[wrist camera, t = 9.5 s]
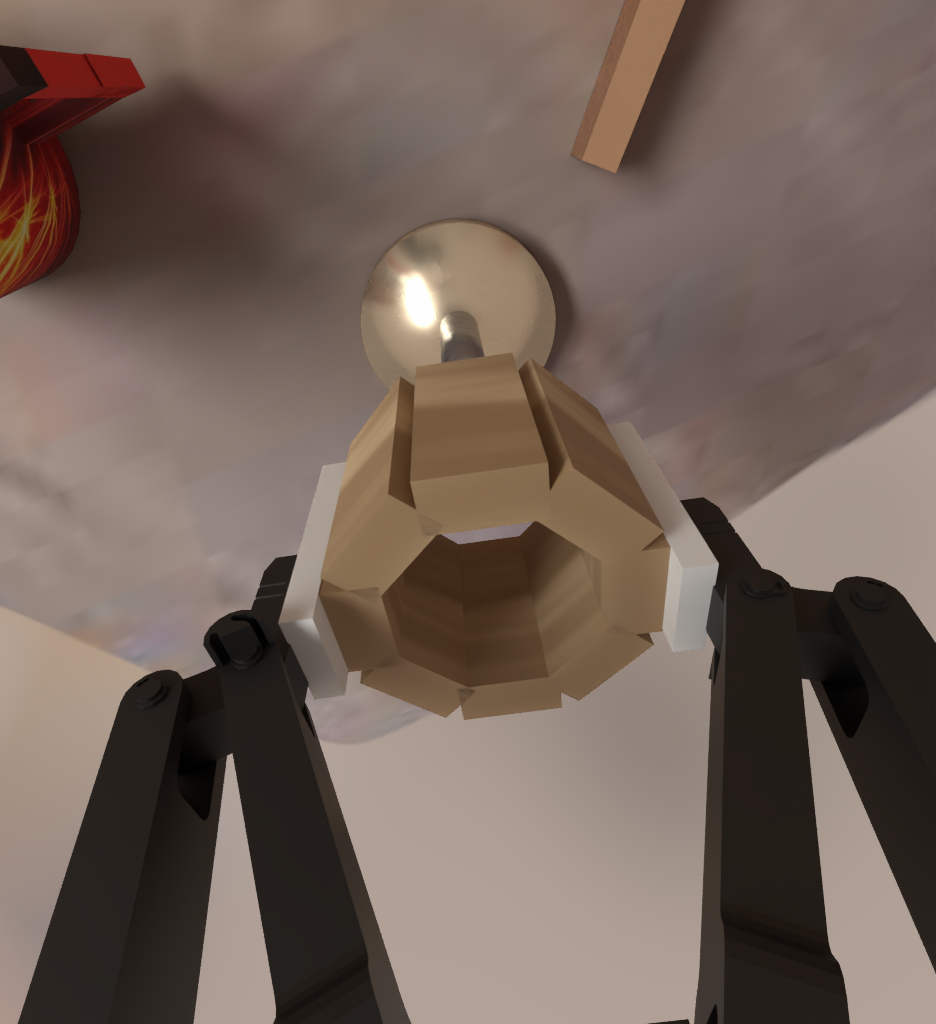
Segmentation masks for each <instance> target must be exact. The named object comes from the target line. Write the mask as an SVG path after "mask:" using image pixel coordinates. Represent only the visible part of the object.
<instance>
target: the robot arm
mask: <svg viewBox="0 0 936 1024" xmlns="http://www.w3.org/2000/svg"><path fill="white" fill-rule="evenodd" d="M607 427H608V429H609V431H610V433H611V434H612V436H613V438H614V440H615V442H616V444H617V445H618V447H619V449H620V451H621V453H622V455H623V456H624V458H625V460H626V462H627V464H628V465H629V467H630V469H631V471H632V473H633V475H634V476H635V478H636V480H637V482H638V484H639V486H640V487H641V489H642V491H643V493H644V495H645V497H646V498H647V500H648V502H649V504H650V506H651V508H652V509H653V511H654V513H655V515H656V517H657V519H658V520H659V522H660V524H661V526H662V528H663V530H664V532H663V534H664V536H665V537H666V539H667V541H668V543H669V545H670V547H671V549H670V559H669V569H668V579H667V589H666V598H665V608H664V618H663V628H662V629H663V632H664V634H665V636H666V638H667V641H668V643H669V645H670V647H671V650H672V652H679V651H686V650H694V649H702V648H704V647H705V641H706V635H707V633H708V635H709V637H710V638H711V640H712V642H713V644H714V646H715V648H714V653H713V658H712V664H711V669H710V674H709V679H712V681H711V705H710V729H709V730H710V731H709V753H708V754H709V755H708V778H707V802H706V827H705V851H704V874H703V899H702V924H701V947H700V969H699V982H698V990H697V997H696V1007H695V1008H696V1009H695V1020H694V1024H850V1021H849V1012H848V1003H847V996H846V990H845V984H844V978H843V975H842V971H841V968H840V965H839V963H838V961H837V960H836V959H835V958H834V956H833V955H832V953H831V950H830V947H829V942H828V935H827V925H826V915H825V905H824V895H823V885H822V876H821V867H820V856H819V847H818V836H817V827H816V816H815V807H814V796H813V787H812V777H811V768H810V757H809V747H808V737H807V727H806V717H805V708H804V698H803V688H802V679H809V680H810V682H811V685H812V687H813V689H814V691H815V694H816V696H817V698H818V701H819V703H820V705H821V708H822V710H823V712H824V715H825V717H826V719H827V722H828V724H829V726H830V728H831V731H832V733H833V735H834V737H835V740H836V743H837V745H838V747H839V750H840V752H841V754H842V757H843V759H844V761H845V763H846V766H847V768H848V770H849V773H850V775H851V777H852V780H853V782H854V784H855V787H856V789H857V791H858V794H859V796H860V798H861V801H862V803H863V805H864V808H865V810H866V812H867V814H868V817H869V819H870V822H871V824H872V826H873V828H874V831H875V833H876V836H877V838H878V840H879V842H880V845H881V847H882V849H883V852H884V854H885V856H886V859H887V861H888V863H889V865H890V868H891V870H892V873H893V875H894V877H895V879H896V882H897V884H898V887H899V889H900V891H901V894H902V896H903V898H904V901H905V903H906V905H907V908H908V910H909V912H910V915H911V917H912V919H913V921H914V924H915V926H916V928H917V931H918V933H919V935H920V938H921V940H922V942H923V945H924V947H925V949H926V952H927V954H928V956H929V959H930V961H931V963H932V966H933V968H934V970H935V973H936V643H935V641H934V640H933V638H932V637H931V635H930V634H929V632H928V631H927V630H926V628H925V626H924V625H923V624H922V622H921V621H920V619H919V618H918V616H917V615H916V613H915V612H914V610H913V609H912V607H911V606H910V604H909V603H908V602H907V600H906V599H905V597H904V596H903V595H902V594H901V593H900V592H899V591H898V590H897V589H895V588H894V587H892V586H890V585H888V584H887V583H885V582H882V581H879V580H876V579H873V578H869V577H859V576H856V577H849V578H844V579H842V580H841V581H839V582H837V583H836V585H835V588H834V590H833V592H827V591H816V590H807V589H800V588H794V587H791V586H790V584H789V583H788V582H787V581H786V580H785V579H784V578H783V577H782V576H780V575H778V574H776V573H774V572H772V571H770V570H766V569H762V568H761V566H760V565H759V563H758V562H757V561H756V559H755V558H754V556H753V555H752V554H751V552H750V551H749V549H748V548H747V547H746V545H745V544H744V542H743V541H742V539H741V538H740V537H739V535H738V534H737V533H735V530H734V528H733V527H732V525H731V524H730V523H728V520H727V518H726V517H725V515H724V514H723V512H722V511H721V510H720V508H719V507H717V506H716V505H714V504H713V503H711V502H710V501H708V500H707V499H705V498H704V497H702V498H695V499H688V500H679V499H678V497H677V496H676V494H675V492H674V491H673V489H672V488H671V486H670V484H669V483H668V481H667V479H666V478H665V476H664V475H663V473H662V471H661V470H660V468H659V467H658V465H657V463H656V462H655V460H654V459H653V457H652V455H651V454H650V452H649V451H648V449H647V447H646V446H645V444H644V443H643V441H642V439H641V438H640V436H639V435H638V433H637V431H636V430H635V428H634V426H633V425H632V423H631V422H623V423H616V424H609V425H607ZM345 466H346V462H344V463H337V464H330V465H323V467H322V471H321V474H320V478H319V481H318V485H317V488H316V492H315V495H314V499H313V502H312V506H311V509H310V513H309V517H308V520H307V524H306V527H305V531H304V534H303V538H302V541H301V545H300V548H299V552H298V555H293V556H286V557H279V558H275V560H274V561H273V562H272V563H271V564H270V565H269V567H268V568H267V569H266V570H265V571H264V574H263V577H262V580H261V583H260V588H258V591H257V594H256V600H254V603H253V606H252V609H251V610H240V611H236V612H233V613H229V614H228V615H226V616H224V617H222V618H220V619H219V620H218V621H216V622H215V623H214V624H213V625H212V626H211V627H210V628H209V630H208V631H207V633H206V635H205V636H204V643H203V645H204V647H205V648H206V650H207V652H208V653H209V655H210V657H211V658H212V660H213V661H214V663H215V665H216V666H215V667H213V668H211V669H209V670H207V671H204V672H201V673H199V674H196V675H194V676H191V677H189V678H186V679H182V677H181V676H180V675H179V674H178V672H175V671H172V670H161V671H156V672H154V673H151V674H149V675H146V676H144V677H143V678H142V679H140V680H139V681H137V682H136V683H134V684H133V685H132V687H131V688H130V689H129V690H128V691H127V692H126V693H125V695H124V697H123V699H122V700H121V702H120V705H119V709H118V712H117V715H116V718H115V721H114V724H113V727H112V731H111V733H110V737H109V740H108V743H107V746H106V749H105V752H104V755H103V759H102V762H101V765H100V768H99V771H98V774H97V777H96V781H95V784H94V787H93V790H92V793H91V796H90V799H89V803H88V806H87V809H86V812H85V815H84V818H83V821H82V824H81V828H80V831H79V834H78V837H77V840H76V843H75V846H74V849H73V853H72V856H71V859H70V862H69V865H68V868H67V872H66V875H65V878H64V881H63V884H62V888H61V890H60V893H59V896H58V899H57V903H56V906H55V909H54V912H53V915H52V918H51V921H50V925H49V928H48V931H47V934H46V937H45V940H44V943H43V946H42V950H41V953H40V956H39V959H38V962H37V966H36V969H35V972H34V975H33V978H32V981H31V984H30V987H29V991H28V994H27V997H26V1000H25V1003H24V1006H23V1009H22V1012H21V1015H20V1019H19V1022H18V1024H193V1022H194V1014H195V1005H196V998H197V990H198V983H199V975H200V966H201V958H202V951H203V943H204V935H205V926H206V919H207V911H208V902H209V895H210V887H211V879H212V870H213V862H214V855H215V847H216V839H217V832H218V823H219V816H220V808H221V799H222V791H223V783H224V775H225V768H226V759H227V755H229V754H231V753H233V758H234V764H235V770H236V776H237V781H238V787H239V793H240V799H241V804H242V810H243V816H244V821H245V828H246V833H247V839H248V845H249V851H250V856H251V863H252V868H253V874H254V880H255V886H256V891H257V897H258V903H259V909H260V915H261V921H262V926H263V932H264V938H265V944H266V949H267V954H268V961H269V967H270V972H271V978H272V984H273V990H274V996H275V1003H276V1019H275V1021H274V1023H273V1024H411V1022H410V1019H409V1017H408V1015H407V1012H406V1009H405V1007H404V1004H403V1001H402V998H401V995H400V992H399V989H398V985H397V983H396V979H395V976H394V973H393V970H392V967H391V964H390V961H389V957H388V954H387V951H386V948H385V945H384V942H383V939H382V936H381V933H380V930H379V926H378V924H377V920H376V917H375V914H374V911H373V908H372V905H371V902H370V898H369V895H368V892H367V889H366V886H365V883H364V880H363V876H362V873H361V870H360V867H359V864H358V861H357V858H356V855H355V852H354V849H353V845H352V842H351V839H350V836H349V833H348V830H347V827H346V824H345V821H344V818H343V814H342V811H341V808H340V805H339V802H338V799H337V796H336V792H335V789H334V786H333V783H332V780H331V777H330V774H329V771H328V768H327V764H326V761H325V758H324V755H323V752H322V749H321V746H320V743H319V739H318V736H317V733H316V730H315V727H314V724H313V721H312V718H311V715H310V711H309V709H308V707H307V705H306V703H305V698H306V693H307V688H308V687H309V689H310V691H311V693H312V695H313V697H314V699H320V698H327V697H335V696H343V695H345V690H346V683H347V676H348V668H347V666H346V663H345V661H344V658H343V656H342V653H341V651H340V648H339V646H338V643H337V640H336V638H335V635H334V633H333V630H332V628H331V625H330V623H329V620H328V618H327V615H326V613H325V610H324V608H323V605H322V603H321V600H320V598H319V595H318V594H319V590H320V585H321V581H322V579H321V578H320V575H321V571H322V566H323V562H324V558H325V553H326V549H327V544H328V540H329V536H330V531H331V527H332V523H333V518H334V514H335V509H336V505H337V501H338V496H339V492H340V488H341V483H342V479H343V474H344V470H345ZM650 1024H689V1020H688V1019H687V1020H677V1021H668V1022H659V1023H650Z"/></svg>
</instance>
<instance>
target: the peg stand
mask: <svg viewBox="0 0 936 1024" xmlns="http://www.w3.org/2000/svg"><path fill="white" fill-rule="evenodd" d="M555 325H556V314H555V304H554V300H553V295H552V291H551V288H550V286H549V283H548V281H547V278H546V277H545V275H544V273H543V271H542V269H541V268H540V266H539V264H538V263H537V261H536V260H535V259H534V257H533V256H532V255H531V253H530V252H529V251H528V250H527V249H526V248H525V247H524V246H523V245H522V244H521V243H520V242H519V241H518V240H517V239H515V238H514V237H513V236H511V235H510V234H509V233H507V232H505V231H503V230H501V229H500V228H498V227H496V226H493V225H490V224H488V223H485V222H481V221H476V220H471V219H445V220H439V221H435V222H431V223H428V224H425V225H423V226H420V227H418V228H416V229H414V230H412V231H411V232H409V233H407V234H405V235H404V236H403V237H401V238H400V239H399V240H398V241H396V242H395V243H394V244H393V245H392V246H391V247H390V248H389V249H388V250H387V251H386V252H385V254H384V255H383V256H382V258H381V259H380V260H379V262H378V263H377V265H376V267H375V269H374V271H373V272H372V274H371V277H370V279H369V282H368V285H367V287H366V291H365V294H364V298H363V303H362V309H361V335H362V340H363V346H364V349H365V352H366V355H367V358H368V360H369V362H370V364H371V366H372V368H373V370H374V372H375V373H376V375H377V376H378V378H379V379H380V381H381V382H382V383H383V384H384V385H385V387H386V388H387V389H388V390H389V391H390V389H391V388H392V387H393V385H394V384H395V383H396V381H397V380H398V378H399V377H400V376H401V377H402V378H404V379H405V380H407V381H408V382H410V383H411V384H413V385H414V386H415V371H416V367H418V366H424V365H431V364H438V363H445V362H451V361H458V360H465V359H472V358H479V357H485V356H492V355H499V354H506V353H512V354H513V357H514V360H515V363H516V366H517V369H518V370H519V369H520V368H521V367H522V366H523V365H524V363H525V362H526V361H527V360H528V359H529V357H530V358H532V359H533V360H534V361H535V362H537V363H538V364H539V365H541V366H542V367H544V365H545V364H546V361H547V359H548V357H549V354H550V351H551V348H552V344H553V341H554V335H555Z"/></svg>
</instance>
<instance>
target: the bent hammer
mask: <svg viewBox="0 0 936 1024" xmlns="http://www.w3.org/2000/svg"><path fill="white" fill-rule="evenodd" d="M684 2H685V0H626V1H625V4H624V6H623V9H622V12H621V15H620V18H619V20H618V23H617V26H616V29H615V32H614V35H613V37H612V40H611V43H610V46H609V49H608V51H607V54H606V57H605V60H604V63H603V65H602V68H601V71H600V74H599V77H598V79H597V82H596V85H595V88H594V91H593V94H592V96H591V99H590V102H589V105H588V108H587V110H586V113H585V116H584V119H583V122H582V124H581V127H580V130H579V133H578V136H577V138H576V141H575V144H574V147H573V150H572V153H571V156H573V157H575V158H578V159H580V160H582V161H585V162H588V163H590V164H593V165H596V166H598V167H601V168H603V169H606V170H609V171H611V172H614V173H616V172H617V169H618V167H619V164H620V162H621V159H622V157H623V154H624V152H625V149H626V147H627V144H628V142H629V139H630V137H631V134H632V132H633V129H634V127H635V124H636V122H637V119H638V117H639V114H640V112H641V109H642V107H643V104H644V102H645V99H646V97H647V94H648V92H649V89H650V87H651V84H652V82H653V79H654V77H655V74H656V72H657V69H658V67H659V64H660V62H661V59H662V57H663V54H664V52H665V49H666V47H667V44H668V42H669V39H670V37H671V34H672V32H673V29H674V27H675V24H676V22H677V19H678V17H679V14H680V12H681V9H682V7H683V4H684Z"/></svg>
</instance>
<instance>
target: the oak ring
mask: <svg viewBox="0 0 936 1024" xmlns="http://www.w3.org/2000/svg"><path fill="white" fill-rule="evenodd" d="M527 522H533V523H532V524H531V525H530V526H529V527H528V528H527V529H526V530H525V531H524V532H523V533H522V534H521V535H520V536H518V537H510V538H503V539H496V540H488V541H481V542H474V543H466V544H457V543H455V542H453V541H451V540H450V539H448V538H446V537H444V536H443V535H441V534H447V533H454V532H462V531H469V530H476V529H483V528H491V527H498V526H505V525H512V524H520V523H527ZM663 532H664V530H663V528H662V526H661V524H660V522H659V520H658V519H657V517H656V515H655V513H654V511H653V509H652V508H651V506H650V504H649V502H648V500H647V498H646V497H645V495H644V493H643V491H642V489H641V487H640V486H639V484H638V482H637V480H636V478H635V476H634V475H633V473H632V471H631V469H630V467H629V465H628V464H627V462H626V460H625V458H624V456H623V455H622V453H621V451H620V449H619V447H618V445H617V444H616V442H615V440H614V438H613V436H612V434H611V433H610V431H609V429H608V427H607V425H606V423H605V422H604V420H603V418H602V416H601V414H600V412H599V411H598V409H597V408H595V407H594V406H593V405H591V404H590V403H589V402H588V401H586V400H585V399H584V398H582V397H581V396H580V395H578V394H577V393H576V392H575V391H573V390H572V389H571V388H569V387H568V386H567V385H565V384H564V383H563V382H562V381H560V380H559V379H558V378H556V377H555V376H554V375H552V374H551V373H550V372H548V371H547V370H546V369H545V368H543V367H542V366H541V365H539V364H538V363H537V362H535V361H534V360H533V359H532V358H530V357H529V359H528V360H527V361H526V362H525V363H524V365H523V366H522V367H521V368H520V369H519V370H518V369H517V366H516V363H515V360H514V357H513V354H512V353H506V354H499V355H492V356H485V357H479V358H472V359H465V360H458V361H451V362H445V363H438V364H431V365H424V366H418V367H416V371H415V386H414V385H413V384H411V383H410V382H408V381H407V380H405V379H404V378H402V377H401V376H400V377H399V378H398V380H397V381H396V383H395V384H394V385H393V387H392V388H391V389H390V391H389V392H388V394H387V395H386V396H385V398H384V399H383V400H382V402H381V403H380V405H379V406H378V407H377V409H376V410H375V411H374V413H373V414H372V416H371V417H370V418H369V420H368V421H367V422H366V424H365V425H364V427H363V428H362V429H361V431H360V432H359V434H358V435H357V436H356V438H355V439H354V440H353V442H352V443H351V445H350V448H349V453H348V457H347V461H346V466H345V470H344V474H343V479H342V483H341V488H340V492H339V496H338V501H337V505H336V509H335V514H334V518H333V523H332V527H331V531H330V536H329V540H328V544H327V549H326V553H325V558H324V562H323V566H322V571H321V575H320V578H321V579H322V581H321V585H320V590H319V594H318V595H319V598H320V600H321V603H322V605H323V608H324V610H325V613H326V615H327V618H328V620H329V623H330V625H331V628H332V630H333V633H334V635H335V638H336V640H337V643H338V646H339V648H340V651H341V653H342V656H343V658H344V661H345V663H346V666H347V668H348V672H353V671H360V670H362V673H361V681H360V683H361V684H364V685H366V686H369V687H371V688H374V689H376V690H379V691H381V692H384V693H386V694H388V695H391V696H393V697H396V698H398V699H401V700H403V701H406V702H408V703H411V704H413V705H416V706H418V707H421V708H423V709H425V710H428V711H430V712H433V713H435V714H438V715H440V716H443V717H445V718H446V717H447V716H448V715H450V714H451V713H452V712H453V711H454V710H455V709H457V708H458V707H459V706H460V705H461V708H462V712H463V717H464V720H467V719H474V718H483V717H490V716H498V715H506V714H514V713H522V712H530V711H537V710H546V709H554V708H561V707H562V703H561V692H562V693H564V694H566V695H568V696H570V697H572V698H575V699H576V700H580V699H582V698H583V697H585V696H586V695H587V694H589V693H590V692H591V691H593V690H594V689H596V688H597V687H598V686H600V685H601V684H602V683H603V682H605V681H606V680H608V679H609V678H610V677H612V676H613V675H614V674H616V673H617V672H618V671H619V670H621V669H622V668H624V667H625V666H626V665H628V664H629V663H630V662H632V661H633V660H634V659H636V658H637V657H638V656H640V655H641V654H642V653H644V652H645V651H646V650H648V649H649V648H650V647H652V646H653V645H654V644H653V642H652V639H651V637H650V635H649V633H651V632H659V631H663V629H662V628H663V618H664V608H665V598H666V589H667V579H668V569H669V559H670V549H671V547H670V545H669V543H668V541H667V539H666V537H665V536H664V534H663Z"/></svg>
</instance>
